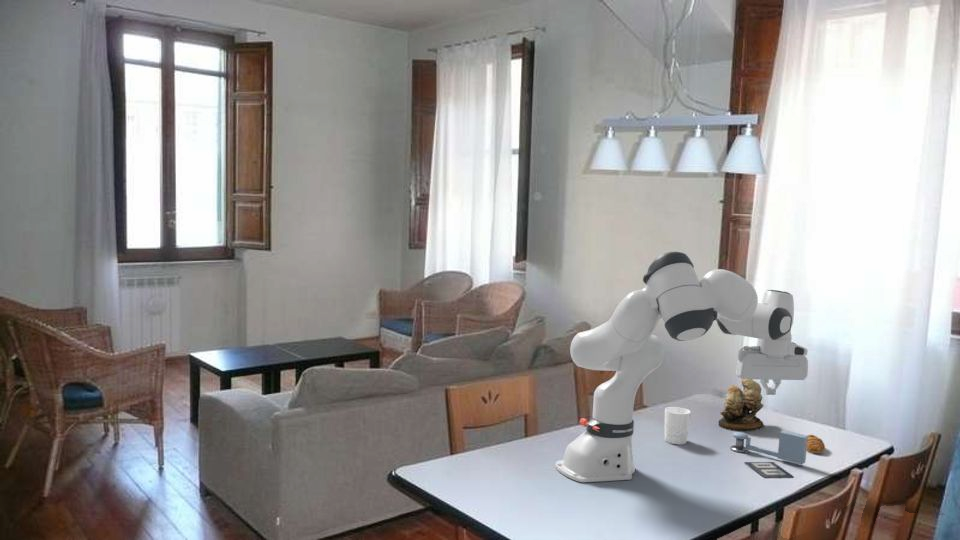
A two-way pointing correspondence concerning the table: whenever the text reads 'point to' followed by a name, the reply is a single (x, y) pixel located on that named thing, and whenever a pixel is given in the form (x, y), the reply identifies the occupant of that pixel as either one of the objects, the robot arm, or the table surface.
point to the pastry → (815, 444)
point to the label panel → (768, 469)
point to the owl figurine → (742, 407)
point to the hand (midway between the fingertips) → (769, 394)
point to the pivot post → (739, 446)
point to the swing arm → (782, 446)
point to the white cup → (676, 425)
